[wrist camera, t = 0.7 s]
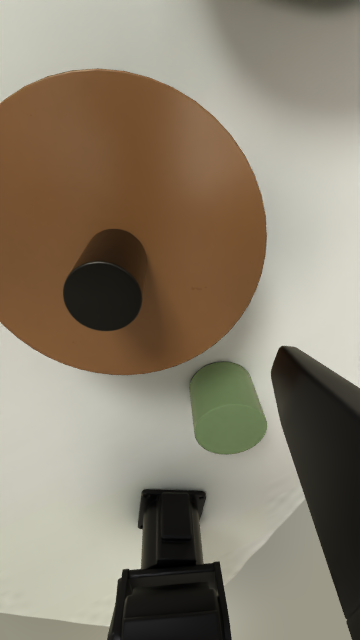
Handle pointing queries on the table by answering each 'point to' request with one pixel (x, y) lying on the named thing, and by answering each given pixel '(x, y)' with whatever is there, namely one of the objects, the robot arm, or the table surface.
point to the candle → (226, 409)
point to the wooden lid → (123, 223)
